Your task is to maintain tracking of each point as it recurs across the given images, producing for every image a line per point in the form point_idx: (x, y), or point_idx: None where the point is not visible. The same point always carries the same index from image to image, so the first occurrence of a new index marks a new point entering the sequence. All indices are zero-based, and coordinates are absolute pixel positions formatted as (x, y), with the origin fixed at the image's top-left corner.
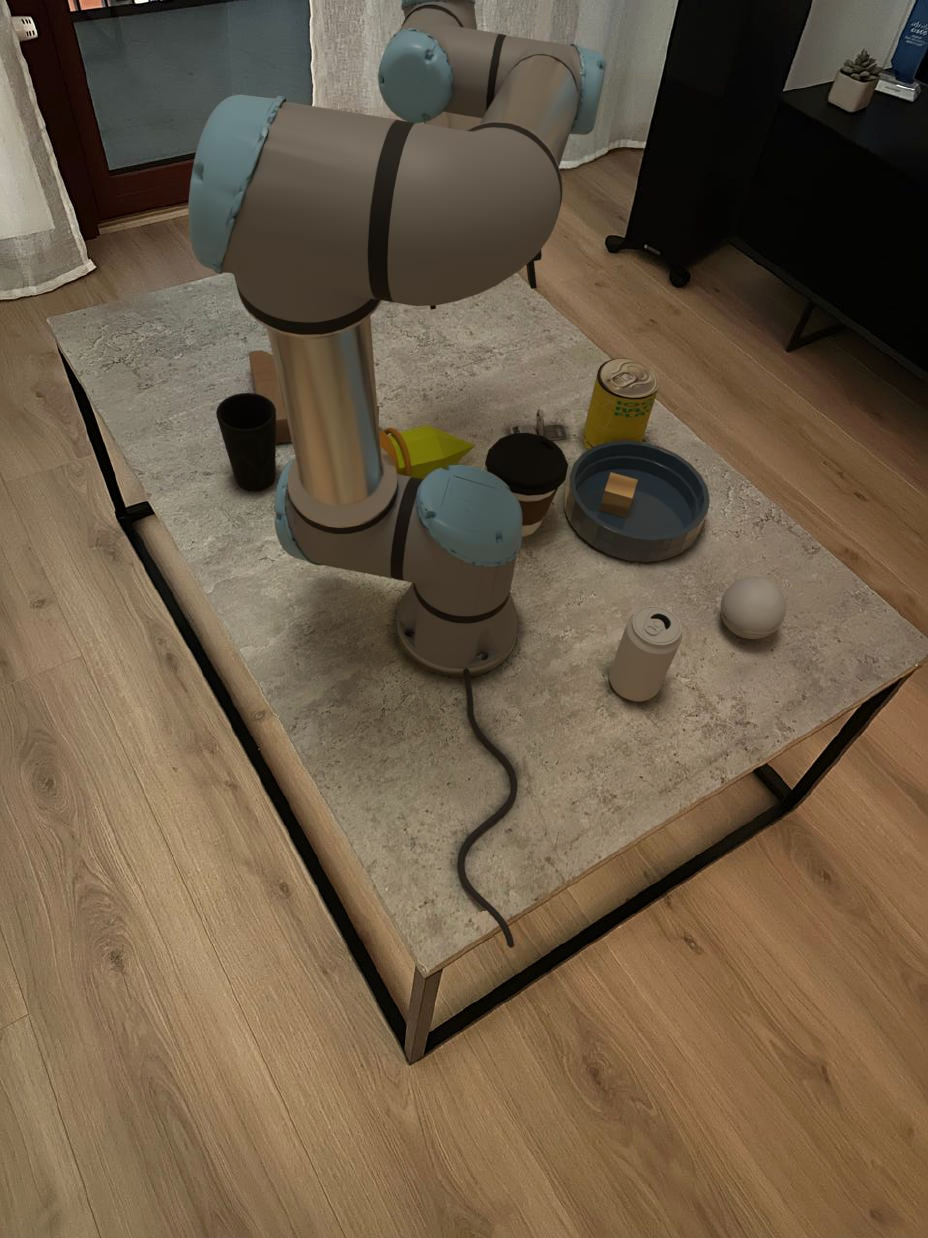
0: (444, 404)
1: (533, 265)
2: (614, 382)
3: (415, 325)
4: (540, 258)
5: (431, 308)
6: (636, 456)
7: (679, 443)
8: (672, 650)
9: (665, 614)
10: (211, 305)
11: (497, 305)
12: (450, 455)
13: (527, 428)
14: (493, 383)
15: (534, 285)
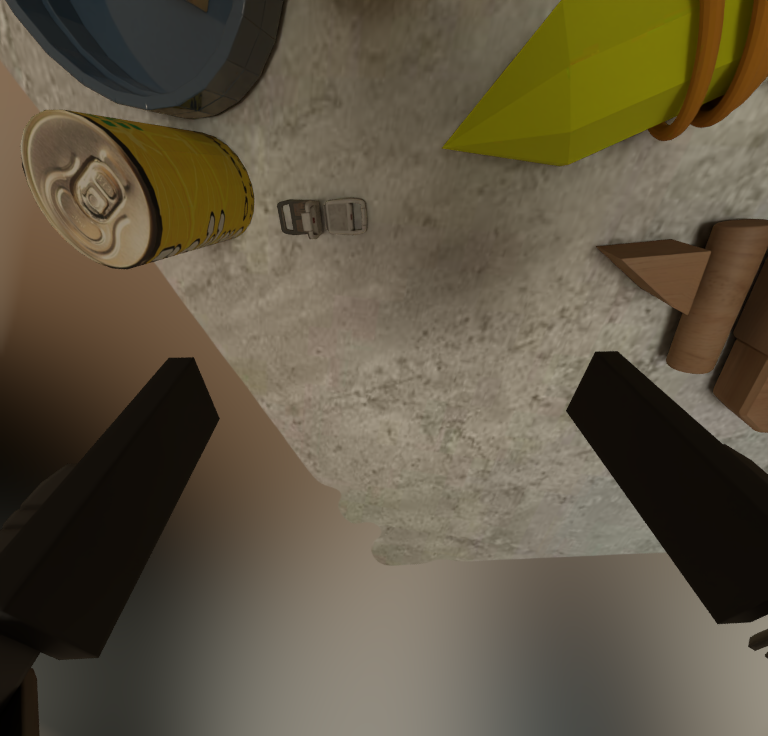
0: (458, 304)
1: (107, 436)
2: (114, 179)
3: (457, 454)
4: (61, 470)
5: (617, 353)
6: (144, 96)
7: None
8: None
9: None
10: None
11: (350, 467)
12: (532, 36)
13: (337, 222)
14: (375, 341)
15: (171, 364)
